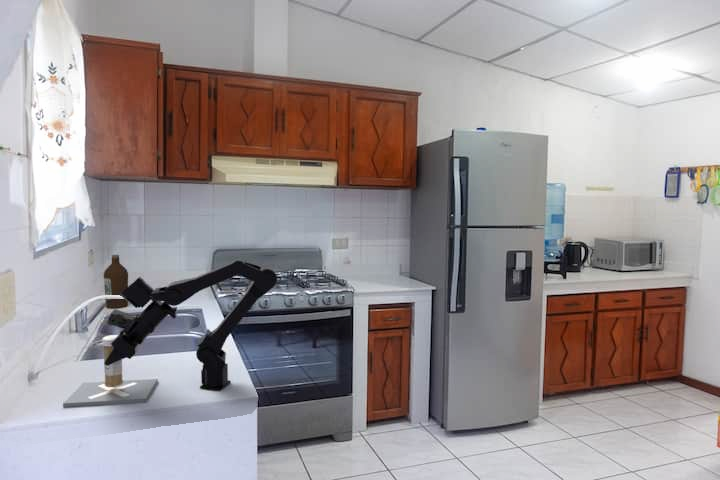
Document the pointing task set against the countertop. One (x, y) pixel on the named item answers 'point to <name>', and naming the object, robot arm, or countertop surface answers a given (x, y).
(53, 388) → the countertop surface
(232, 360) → the countertop surface
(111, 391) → the board
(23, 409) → the countertop surface
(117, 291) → the olive oil
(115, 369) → the sprinkles bottle
